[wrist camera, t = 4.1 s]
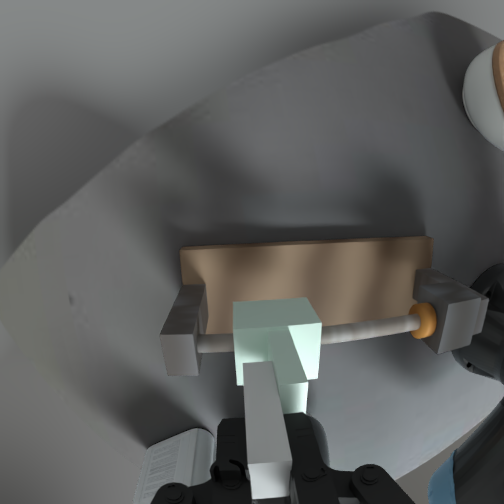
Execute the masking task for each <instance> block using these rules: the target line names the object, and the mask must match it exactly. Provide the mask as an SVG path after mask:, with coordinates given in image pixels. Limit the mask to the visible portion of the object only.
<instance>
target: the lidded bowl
mask: <svg viewBox="0 0 504 504" xmlns="http://www.w3.org/2000/svg"><path fill="white" fill-rule="evenodd" d="M462 99H463V104H464V108H465V111H466V114H467V116H468V118H469V120H470V121H471V123H472V125H473V126H474V127H475V128H476V129H477V130H478V131H479V132H480V133H481V134H482V136H483V137H484V138H485V139H486V140H487V141H489V142H490V143H491V144H492V145H494V146H495V147H497V148H499V149H501V150H502V151H504V40H503V41H501V42H499V43H498V44H497V45H494V46H492V47H490V48H488V49H486V50H484V51H483V52H481V53H480V54H478V55H477V56H476V57H475V58H474V59H473V60H472V62H471V63H470V65H469V66H468V68H467V71H466V74H465V78H464V86H463V90H462Z"/></svg>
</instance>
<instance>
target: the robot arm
mask: <svg viewBox="0 0 504 504" xmlns="http://www.w3.org/2000/svg"><path fill="white" fill-rule="evenodd" d="M471 289H473V290H474V291H476V292H478V293H480V294H482V295H484V296H486V297H487V298H489V302H488V306H487V311H486V315H485V319H484V323H483V327H482V331H481V333H478V334H475V335H472V339H471V343H470V345H468V346H464V347H461V348H458V349H455V350H452V353H453V356H454V358H455V360H456V361H457V362H458V363H459V364H460V365H461V366H462V367H464V368H465V369H466V370H468V371H469V372H472V373H475V374H478V375H482V376H485V377H488V378H491V379H494V380H498V381H500V382H501V383H502V384H503V385H504V264H498V265H495V266H493V267H491V268H489V269H488V270H487V271H485V272H484V273H483V274H482V275H481V276H480V277H479V278H478V279H477V281H476V282H475V283H474V284H473V286H472V287H471ZM243 383H244V403H245V418H227V419H222V421H221V422H220V424H219V425H218V429H217V448H216V461H215V462H214V463H213V464H212V465H211V467H210V470H209V471H210V475H211V479H210V480H208V481H206V482H205V483H202V484H199V485H194V486H190V487H188V486H187V485H184V484H182V483H176V482H172V483H167V484H165V485H163V486H161V487H160V488H159V489H158V491H157V492H156V494H155V496H154V498H153V500H152V501H151V503H150V504H253V500H252V499H263V498H275V497H284V496H289V494H290V498H291V504H415V503H414V502H413V501H412V500H411V498H410V497H409V496H408V495H407V494H406V493H405V492H404V491H403V490H402V489H401V487H400V486H399V485H398V484H397V483H396V482H395V481H394V480H393V479H392V478H391V476H390V475H389V474H388V473H387V472H386V471H385V470H384V469H383V468H382V467H380V466H378V465H374V464H366V465H363V466H360V467H359V468H357V469H356V470H355V471H338V470H334V469H331V468H330V467H328V466H327V465H326V464H325V463H324V461H323V459H322V456H321V453H320V450H319V447H318V443H317V440H316V437H315V433H314V430H313V427H312V424H311V420H310V418H309V417H308V416H307V415H306V414H305V413H304V412H297V413H289V414H283V412H282V407H281V402H280V398H279V393H278V388H277V383H276V378H275V373H274V368H273V363H272V361H264V362H249V363H243ZM428 499H429V504H504V397H503V399H502V400H501V401H500V402H499V403H498V405H497V406H496V407H495V408H494V410H493V411H492V412H491V413H490V414H489V416H488V417H487V418H486V419H485V420H484V421H483V423H482V424H481V425H480V426H479V427H478V428H477V429H476V430H475V431H474V433H473V434H472V435H471V436H470V437H469V438H468V439H467V440H466V441H465V442H464V443H463V444H462V445H461V446H460V447H459V448H458V449H456V450H454V452H453V453H452V454H451V456H450V457H449V458H448V459H447V460H446V461H445V462H444V463H443V464H442V465H441V466H440V467H439V468H438V469H437V470H436V471H435V472H434V474H433V475H432V477H431V479H430V482H429V485H428Z"/></svg>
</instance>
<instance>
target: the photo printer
mask: <svg viewBox="0 0 504 504" xmlns="http://www.w3.org/2000/svg"><path fill="white" fill-rule="evenodd" d="M215 461H216V442H214V437H213V436H212V434H211V433H209V432H208V431H206V430H204V429H198V428H195V429H191V430H188V431H185V432H183V433H181V434H178V435H176V436H173V437H171V438H169V439H166V440H164V441H162V442H159V443H157V444H155V445H152V446H151V447H149V448H148V449H147V451H146V454H145V458H144V462H143V465H142V469H141V473H140V476H139V480H138V484H137V488H136V492H135V496H134V500H133V504H150V503H151V501H152V500H153V498H154V496H155V494H156V492H157V491H158V489H159V488H160V487H161V486H163V485H165V484H167V483H172V482H176V483H182V484H184V485H187V486H188V487H190V486H194V485H199V484H202V483H205V482H206V481H208V480H210V479H211V475H210V471H209V470H210V467H211V465H212V464H213V463H214V462H215Z"/></svg>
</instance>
